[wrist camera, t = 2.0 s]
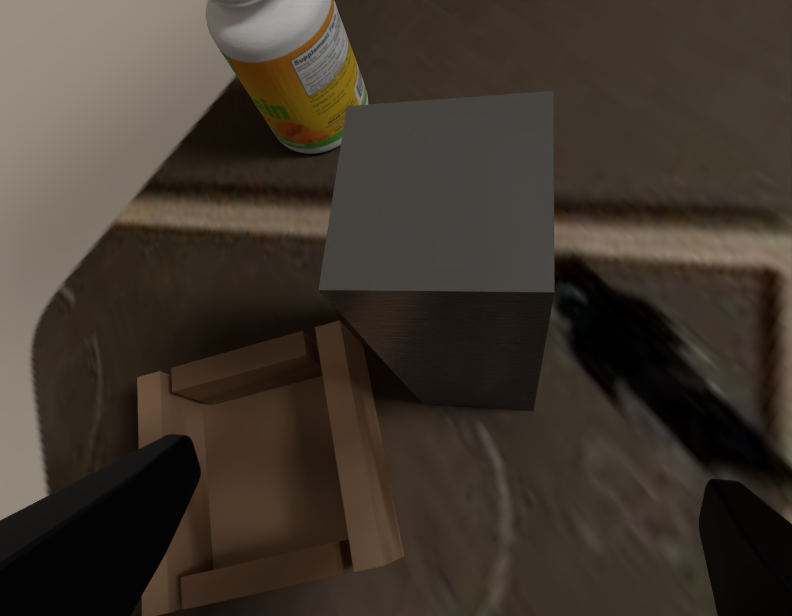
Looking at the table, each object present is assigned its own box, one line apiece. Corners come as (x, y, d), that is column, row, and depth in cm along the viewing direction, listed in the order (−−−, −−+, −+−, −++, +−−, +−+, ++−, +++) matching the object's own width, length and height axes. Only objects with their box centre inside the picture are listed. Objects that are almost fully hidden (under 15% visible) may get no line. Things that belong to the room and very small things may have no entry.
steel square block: (533, 410, 21) (554, 292, 9) (422, 404, 22) (318, 289, 10) (534, 305, 22) (553, 90, 11) (430, 303, 23) (346, 106, 12)
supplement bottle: (255, 126, 29) (139, -43, 20) (323, 60, 30) (239, -132, 21) (319, 174, 27) (222, 10, 18) (391, 102, 28) (331, -91, 19)
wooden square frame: (405, 555, 20) (383, 565, 17) (200, 600, 21) (142, 618, 18) (364, 346, 23) (339, 320, 20) (188, 394, 24) (137, 377, 21)
